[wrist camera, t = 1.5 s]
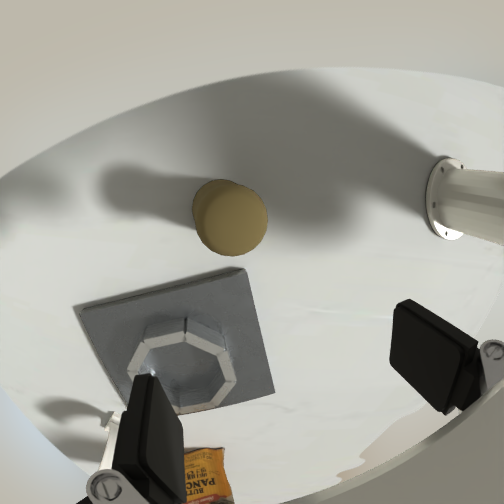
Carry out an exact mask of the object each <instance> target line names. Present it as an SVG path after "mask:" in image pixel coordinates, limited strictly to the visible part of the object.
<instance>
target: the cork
mask: <svg viewBox="0 0 504 504" xmlns="http://www.w3.org/2000/svg"><path fill="white" fill-rule="evenodd" d="M192 212H193V217H194V220H195V224H196V230H197V234H198V236H199V237H200V239H201V241H202V243H203V244H204V245H205V246H207V247H208V248H209V249H210V250H211V251H213V252H215V253H218V254H220V255H224V256H238V255H243V254H245V253H247V252H249V251H251V250H253V249H254V248H255V247H256V246H257V245H258V244H259V243H260V242H261V240H262V238H263V237H264V235H265V233H266V229H267V223H268V218H267V211H266V207H265V205H264V203H263V201H262V199H261V198H260V197H259V196H258V195H257V194H256V193H255V192H254V191H253V190H251V189H249V188H247V187H245V186H243V185H238V184H236V183H234V182H232V181H229V180H222V179H220V180H214V181H211V182H209V183H207V184H205V185H203V186H202V188H201V189H200V190H199V191H198V192H197V194H196V196H195V198H194V200H193V206H192Z"/></svg>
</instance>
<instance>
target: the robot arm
mask: <svg viewBox="0 0 504 504" xmlns="http://www.w3.org/2000/svg"><path fill="white" fill-rule="evenodd" d="M426 207H427V214H428V218H429V221H430V224H431V226H432V228H433V230H434V231H435V232H436V234H437V235H439V236H440V237H442V238H444V239H448V240H454V239H457V238H459V237H460V236H461V235H462V234H467V235H470V236H474V237H477V238H480V239H484V240H487V241H490V242H493V243H496V244H499V245H502V246H504V172H495V171H484V170H470V169H467V168H466V166H465V165H464V164H463V163H462V162H461V161H459V160H457V159H453V158H447V159H443V160H441V161H440V162H439V163H437V164H436V166H435V167H434V169H433V171H432V173H431V175H430V178H429V181H428V186H427V192H426ZM477 345H478V341H477V340H475V339H474V338H472V337H471V336H469V335H468V334H466V333H464V332H463V331H461V330H460V329H458V328H457V327H455V326H453V325H452V324H450V323H449V322H447V321H446V320H444V319H442V318H441V317H439V316H437V315H436V314H434V313H433V312H431V311H429V310H428V309H426V308H424V307H423V306H421V305H420V304H418V303H416V302H415V301H413V300H411V299H407V300H405V301H402V302H400V303H398V304H397V305H396V308H395V309H394V313H393V328H392V339H391V349H390V358H389V361H390V364H391V366H392V367H393V368H394V369H395V370H396V371H397V372H398V373H399V374H400V375H401V376H402V377H403V378H404V379H405V380H406V381H407V382H408V383H409V384H410V385H411V386H412V387H413V388H414V389H415V390H416V391H417V392H418V393H419V394H420V395H421V396H422V397H423V398H424V399H425V400H426V401H427V402H428V403H430V405H431V406H432V407H433V408H434V409H435V410H437V411H438V412H442V413H443V414H444V415H447V414H449V413H450V412H451V411H453V410H454V409H455V407H457V408H458V409H459V415H458V416H457V417H455V418H454V419H453V420H451V421H450V422H449V423H448V424H446V425H445V426H443V427H442V428H440V429H439V430H437V431H436V432H435V433H433V434H432V435H430V436H429V437H427V438H426V439H424V440H423V441H421V442H419V443H418V444H416V445H415V446H413V447H411V448H410V449H408V450H406V451H405V452H403V453H401V454H399V455H398V456H396V457H394V458H392V459H390V460H389V461H387V462H385V463H383V464H381V465H379V466H377V467H375V468H373V469H371V470H369V471H367V472H365V473H363V474H360V475H358V476H356V477H354V478H352V479H349V480H347V481H345V482H342V483H340V484H337V485H335V486H332V487H329V488H327V489H324V490H321V491H319V492H316V493H313V494H310V495H307V496H304V497H301V498H297V499H294V500H291V501H287V502H284V503H280V504H504V343H503V342H502V341H499V340H488V341H485V342H484V343H483V344H482V345H481V347H480V349H478V348H477ZM86 492H87V494H88V496H87V497H85V498H84V499H82V500H81V501H79V502H78V503H76V504H183V503H186V502H187V494H186V481H185V464H184V441H183V427H182V424H181V422H180V420H179V418H178V416H177V415H176V413H175V411H174V409H173V407H172V405H171V403H170V401H169V399H168V397H167V395H166V393H165V391H164V389H163V387H162V385H161V383H160V381H159V379H158V377H157V376H152V374H151V373H146V374H139V375H135V377H134V380H133V385H132V389H131V393H130V398H129V403H128V407H127V411H124V412H123V413H122V415H121V419H120V424H119V429H118V434H117V439H116V444H115V449H114V455H113V461H112V467H111V469H104V470H100V471H98V472H95V473H94V474H93V475H92V476H91V477H90V478H89V480H88V482H87V485H86Z"/></svg>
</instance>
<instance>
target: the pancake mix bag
mask: <svg viewBox="0 0 504 504" xmlns="http://www.w3.org/2000/svg"><path fill="white" fill-rule="evenodd" d="M224 449H225V448H222V449H217V450H215V449H210V448H204V449H199V450H195V451H192V452H189V453H185V454H184V464H185V481H186V494H187V502H186V503H183V504H235V503H234V499H233V495H232V491H231V487H230V484H229V482H228V480H227V477H226V474H225V470H224V462H223V460H224Z"/></svg>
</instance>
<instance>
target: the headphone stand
mask: <svg viewBox="0 0 504 504" xmlns="http://www.w3.org/2000/svg"><path fill="white" fill-rule="evenodd" d="M120 419H121V415H120V414H118V413H116V412H114V413H113V414H112V416H111V418H110V419H109V421H108V423H107V424H106V426H105V429H104V430H105V431H107V432H109V435H108V440H107V444H106V448H105V451H104V454H103V458H102V461H101V463H100V466H99V469H98V471H100V470H104V469H111V467H112V461H113V455H114V449H115V444H116V439H117V434H118V429H119V424H120ZM98 471H97V472H98Z"/></svg>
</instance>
